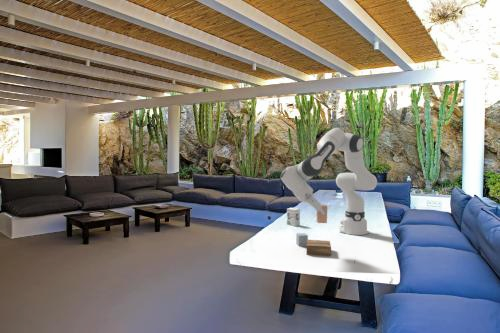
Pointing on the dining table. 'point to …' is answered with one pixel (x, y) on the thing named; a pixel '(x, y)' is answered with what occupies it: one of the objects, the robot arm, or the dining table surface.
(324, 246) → the walnut block
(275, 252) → the dining table surface
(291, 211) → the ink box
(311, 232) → the dining table surface
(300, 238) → the slate grey block
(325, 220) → the terracotta block
